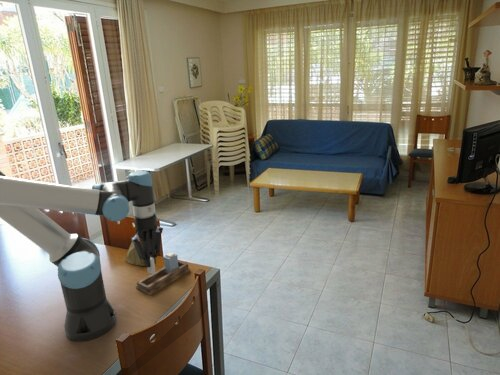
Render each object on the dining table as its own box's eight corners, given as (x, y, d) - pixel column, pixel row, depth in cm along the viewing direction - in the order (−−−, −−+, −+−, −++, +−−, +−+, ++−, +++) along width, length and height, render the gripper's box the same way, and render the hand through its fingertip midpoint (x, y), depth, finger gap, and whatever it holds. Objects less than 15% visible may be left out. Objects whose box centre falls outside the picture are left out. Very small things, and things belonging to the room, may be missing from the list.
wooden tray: (150, 295, 131) (149, 288, 130) (136, 288, 136) (135, 281, 135) (190, 270, 146) (189, 264, 145) (176, 265, 151) (175, 258, 150)
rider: (171, 275, 141) (169, 257, 139) (165, 272, 143) (163, 255, 141) (179, 270, 144) (176, 253, 142) (173, 268, 146) (171, 250, 144)
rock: (154, 259, 152) (149, 246, 160) (140, 248, 147) (135, 236, 155) (135, 277, 151) (130, 264, 159) (120, 267, 146) (116, 254, 154)
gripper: (136, 223, 122) (143, 284, 129) (166, 211, 131) (171, 268, 139) (122, 218, 126) (130, 277, 133) (152, 207, 136) (158, 263, 143)
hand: (151, 273), depth 136 cm, fingers closed
